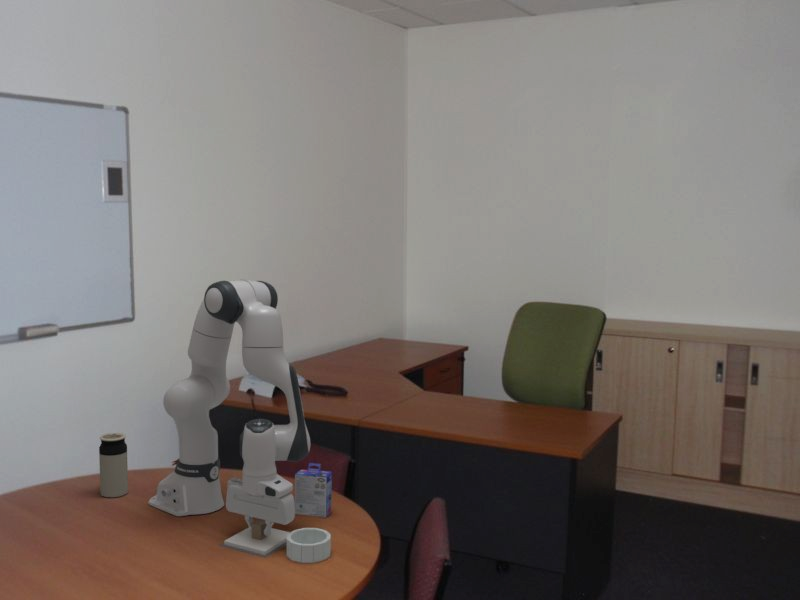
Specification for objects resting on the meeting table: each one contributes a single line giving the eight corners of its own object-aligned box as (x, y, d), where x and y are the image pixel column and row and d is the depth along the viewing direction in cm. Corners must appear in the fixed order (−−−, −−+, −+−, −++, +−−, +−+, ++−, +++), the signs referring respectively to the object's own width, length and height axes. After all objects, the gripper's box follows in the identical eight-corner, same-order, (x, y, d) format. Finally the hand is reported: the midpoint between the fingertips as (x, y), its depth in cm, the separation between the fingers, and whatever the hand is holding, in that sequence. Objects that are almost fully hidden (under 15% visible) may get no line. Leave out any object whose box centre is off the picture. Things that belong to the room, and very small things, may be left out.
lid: (224, 544, 216) (224, 526, 215) (254, 527, 227) (254, 509, 227) (264, 555, 210) (264, 536, 209) (294, 537, 221) (294, 519, 221)
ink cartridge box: (332, 511, 241) (332, 463, 239) (327, 518, 236) (327, 469, 234) (300, 508, 243) (300, 460, 241) (293, 515, 238) (293, 466, 236)
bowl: (278, 558, 209) (278, 539, 209) (303, 542, 219) (303, 524, 218) (314, 568, 204) (315, 548, 204) (338, 551, 214) (338, 533, 213)
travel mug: (122, 498, 248) (121, 440, 246) (96, 498, 248) (94, 439, 246) (131, 489, 256) (130, 432, 254) (106, 488, 256) (104, 432, 254)
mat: (218, 546, 216) (218, 545, 216) (254, 527, 229) (254, 525, 229) (265, 559, 209) (265, 557, 209) (299, 538, 222) (299, 536, 222)
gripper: (220, 479, 219) (220, 529, 220) (284, 493, 209) (284, 545, 211) (235, 472, 224) (235, 521, 226) (298, 485, 215) (298, 536, 217)
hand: (259, 533), depth 218 cm, fingers closed on lid, 3 cm apart
